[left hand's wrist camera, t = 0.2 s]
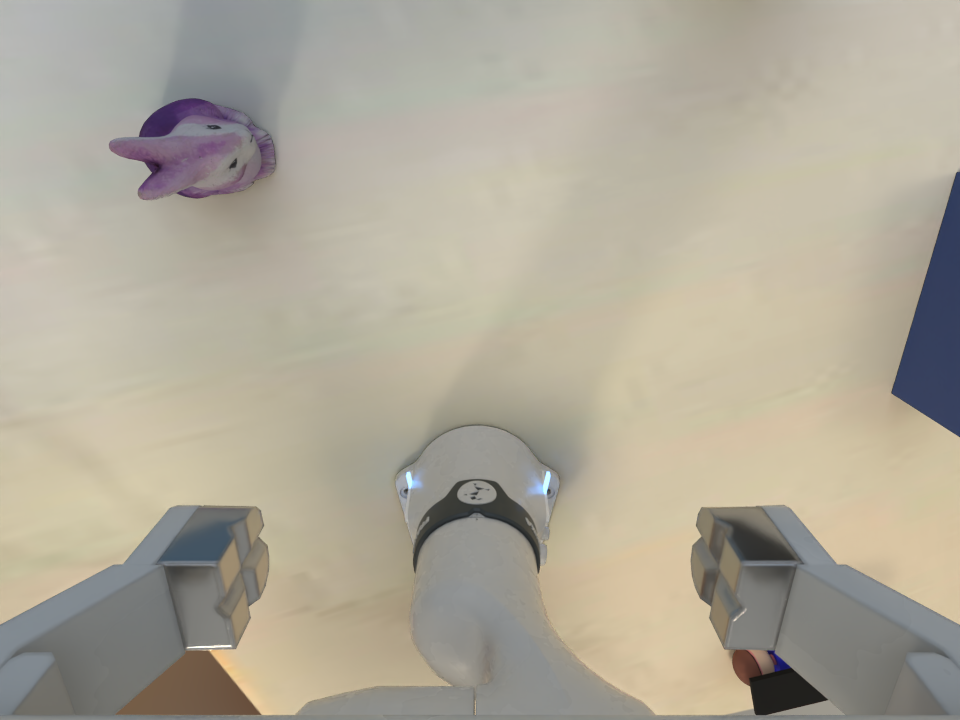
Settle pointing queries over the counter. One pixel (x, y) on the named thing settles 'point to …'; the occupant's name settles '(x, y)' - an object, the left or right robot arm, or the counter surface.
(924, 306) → the box
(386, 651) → the counter surface
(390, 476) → the counter surface
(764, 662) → the figurine character
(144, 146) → the figurine
